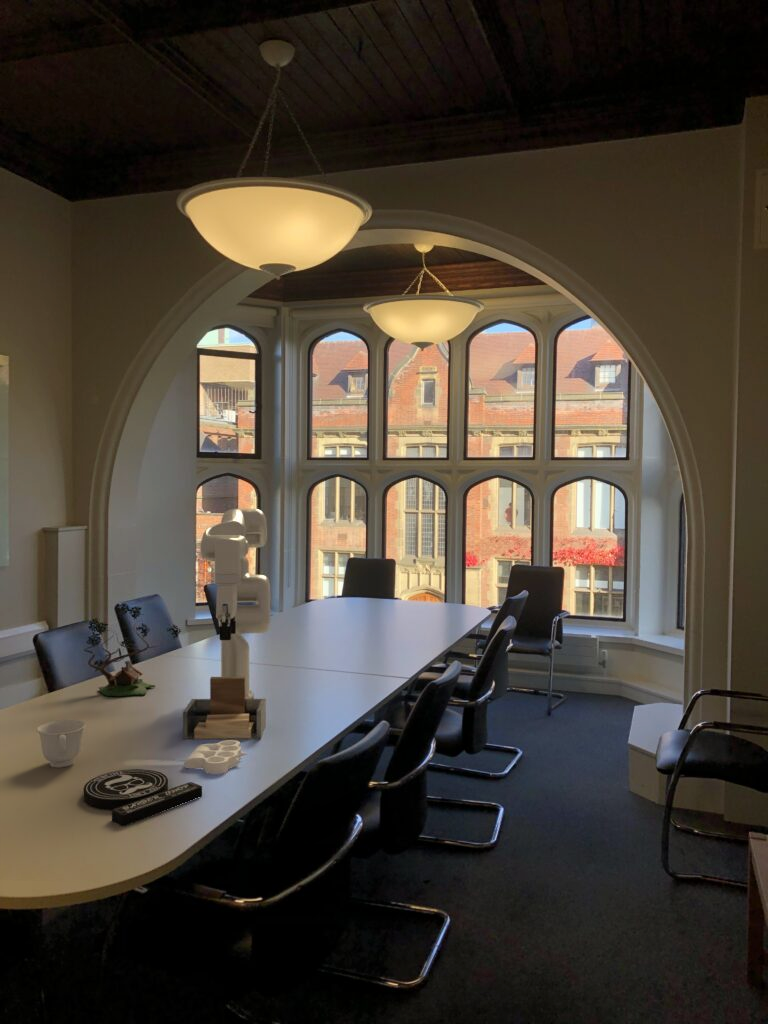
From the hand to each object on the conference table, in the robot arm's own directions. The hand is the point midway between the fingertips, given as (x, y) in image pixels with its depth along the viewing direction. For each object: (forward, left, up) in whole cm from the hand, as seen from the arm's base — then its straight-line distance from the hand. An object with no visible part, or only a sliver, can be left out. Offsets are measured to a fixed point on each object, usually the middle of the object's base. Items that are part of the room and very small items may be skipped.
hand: (227, 636), depth 239 cm
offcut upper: (+7, +1, -25) cm, 26 cm away
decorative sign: (+48, -15, -29) cm, 58 cm away
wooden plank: (0, 0, -27) cm, 27 cm away
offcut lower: (+6, 0, -27) cm, 28 cm away
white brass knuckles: (+25, +1, -29) cm, 39 cm away
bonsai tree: (-42, -39, -29) cm, 64 cm away
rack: (+4, 0, -28) cm, 29 cm away
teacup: (+27, -39, -29) cm, 56 cm away
